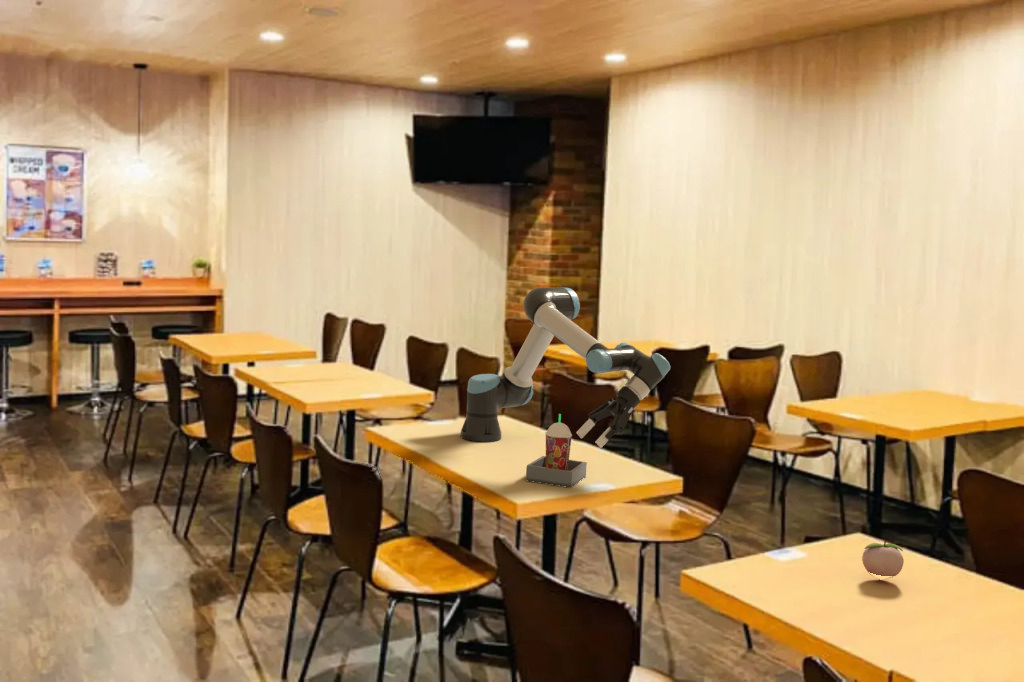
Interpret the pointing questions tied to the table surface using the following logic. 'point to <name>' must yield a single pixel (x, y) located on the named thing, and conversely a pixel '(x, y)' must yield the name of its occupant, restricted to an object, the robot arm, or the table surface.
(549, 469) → the holder tray
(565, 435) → the smoothie
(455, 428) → the table surface
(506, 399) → the robot arm
